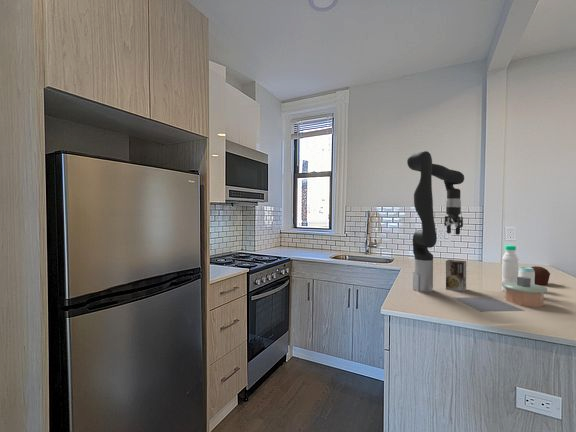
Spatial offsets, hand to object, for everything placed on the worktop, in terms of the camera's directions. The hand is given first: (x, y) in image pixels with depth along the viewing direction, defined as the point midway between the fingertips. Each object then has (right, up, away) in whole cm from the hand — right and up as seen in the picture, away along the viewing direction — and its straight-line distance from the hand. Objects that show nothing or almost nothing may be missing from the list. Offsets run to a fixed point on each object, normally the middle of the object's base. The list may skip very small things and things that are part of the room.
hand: (453, 233), depth 175 cm
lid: (+15, -24, -34) cm, 44 cm away
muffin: (+53, -30, +3) cm, 61 cm away
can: (+36, -31, -10) cm, 48 cm away
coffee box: (-4, -31, -11) cm, 33 cm away
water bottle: (+23, -31, -14) cm, 41 cm away
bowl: (+15, -31, -34) cm, 48 cm away
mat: (-5, -31, -37) cm, 48 cm away
